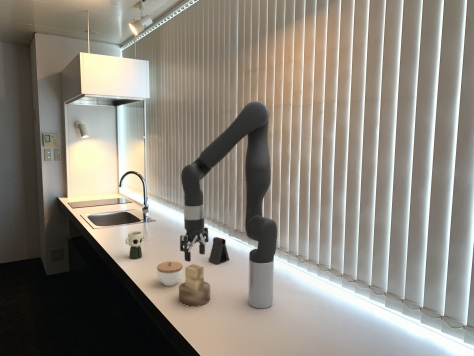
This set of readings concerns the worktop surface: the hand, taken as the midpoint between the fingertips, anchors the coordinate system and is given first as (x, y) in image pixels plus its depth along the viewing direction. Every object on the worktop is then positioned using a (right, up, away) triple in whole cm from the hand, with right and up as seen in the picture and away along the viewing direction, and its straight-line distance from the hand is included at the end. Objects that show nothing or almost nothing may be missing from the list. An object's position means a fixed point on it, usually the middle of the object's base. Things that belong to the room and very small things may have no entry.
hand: (195, 257), depth 135 cm
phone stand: (+7, -12, +42) cm, 45 cm away
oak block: (0, -12, +1) cm, 12 cm away
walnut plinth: (0, -16, +2) cm, 17 cm away
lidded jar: (-13, -15, +16) cm, 25 cm away
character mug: (-36, -11, +46) cm, 60 cm away
